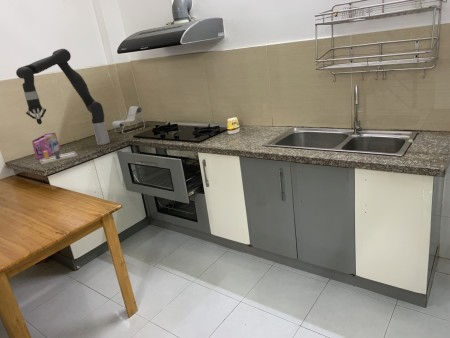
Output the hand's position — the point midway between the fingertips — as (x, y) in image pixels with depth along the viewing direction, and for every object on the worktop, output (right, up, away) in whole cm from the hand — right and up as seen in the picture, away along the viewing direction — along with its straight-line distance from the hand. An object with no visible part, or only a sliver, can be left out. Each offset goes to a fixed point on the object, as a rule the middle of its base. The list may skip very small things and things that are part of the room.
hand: (40, 124), depth 238 cm
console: (+6, -23, +14) cm, 27 cm away
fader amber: (-2, -23, +13) cm, 26 cm away
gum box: (-9, -19, +30) cm, 37 cm away
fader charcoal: (+7, -22, +11) cm, 26 cm away
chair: (+40, +4, +79) cm, 88 cm away
